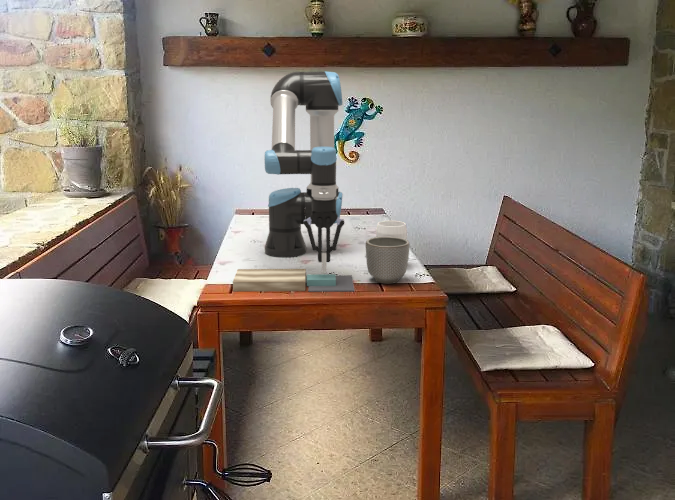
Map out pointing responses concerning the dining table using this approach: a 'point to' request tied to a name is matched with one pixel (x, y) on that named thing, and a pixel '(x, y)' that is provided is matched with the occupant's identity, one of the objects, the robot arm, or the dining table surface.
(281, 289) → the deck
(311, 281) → the teal foam pad
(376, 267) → the planter
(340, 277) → the mat
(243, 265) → the dining table surface
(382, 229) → the white vase
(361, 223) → the dining table surface
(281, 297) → the dining table surface
